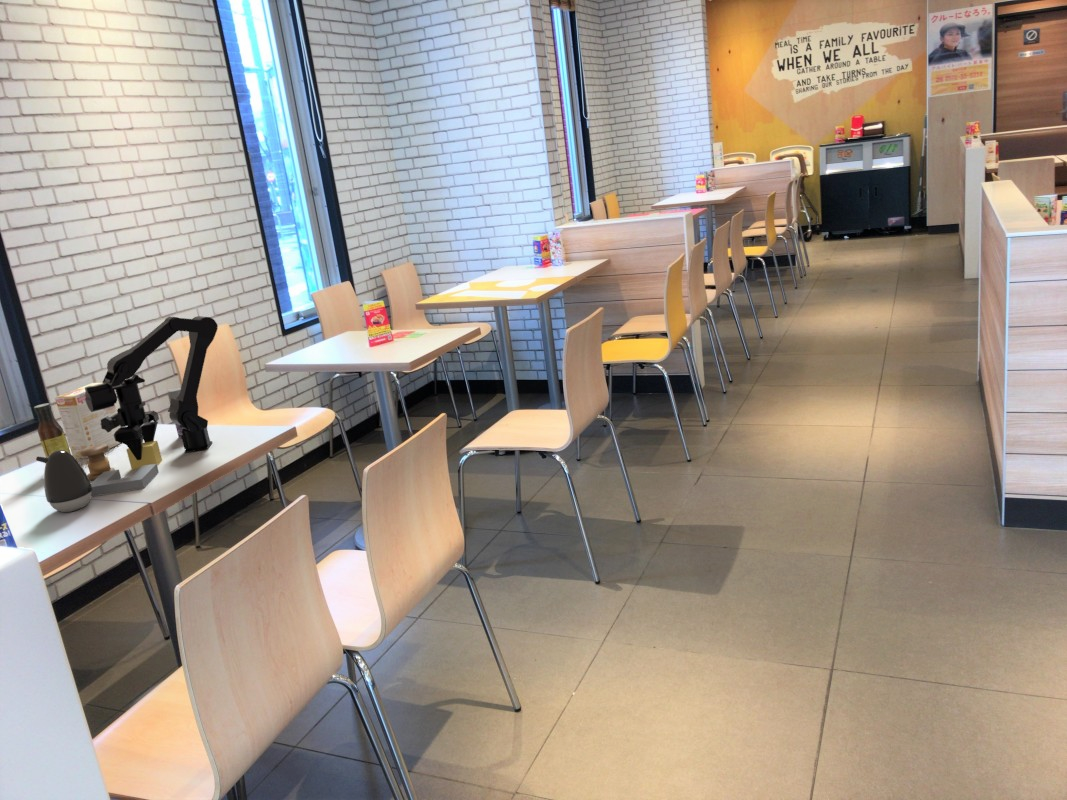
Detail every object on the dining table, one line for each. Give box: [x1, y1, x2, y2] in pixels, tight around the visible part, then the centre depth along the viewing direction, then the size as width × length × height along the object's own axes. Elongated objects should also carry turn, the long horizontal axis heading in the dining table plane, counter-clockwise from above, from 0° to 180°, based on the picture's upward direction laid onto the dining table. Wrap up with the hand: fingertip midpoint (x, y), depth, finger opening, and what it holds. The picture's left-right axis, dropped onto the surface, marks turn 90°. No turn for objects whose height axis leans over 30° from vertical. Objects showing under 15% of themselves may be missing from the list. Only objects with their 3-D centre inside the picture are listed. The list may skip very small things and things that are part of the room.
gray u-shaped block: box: [90, 464, 160, 497], centre depth 222 cm, size 14×12×2 cm
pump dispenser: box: [35, 450, 92, 513], centre depth 208 cm, size 10×10×15 cm
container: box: [166, 387, 183, 439], centre depth 259 cm, size 5×5×15 cm
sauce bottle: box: [33, 402, 72, 458], centre depth 239 cm, size 6×6×20 cm
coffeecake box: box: [54, 382, 121, 460], centre depth 256 cm, size 15×7×20 cm, turn 164°
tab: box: [126, 440, 163, 470], centre depth 236 cm, size 7×4×6 cm, turn 96°
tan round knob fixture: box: [80, 444, 116, 482], centre depth 231 cm, size 7×7×8 cm
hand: (144, 454), depth 236 cm, fingers open, 9 cm apart
